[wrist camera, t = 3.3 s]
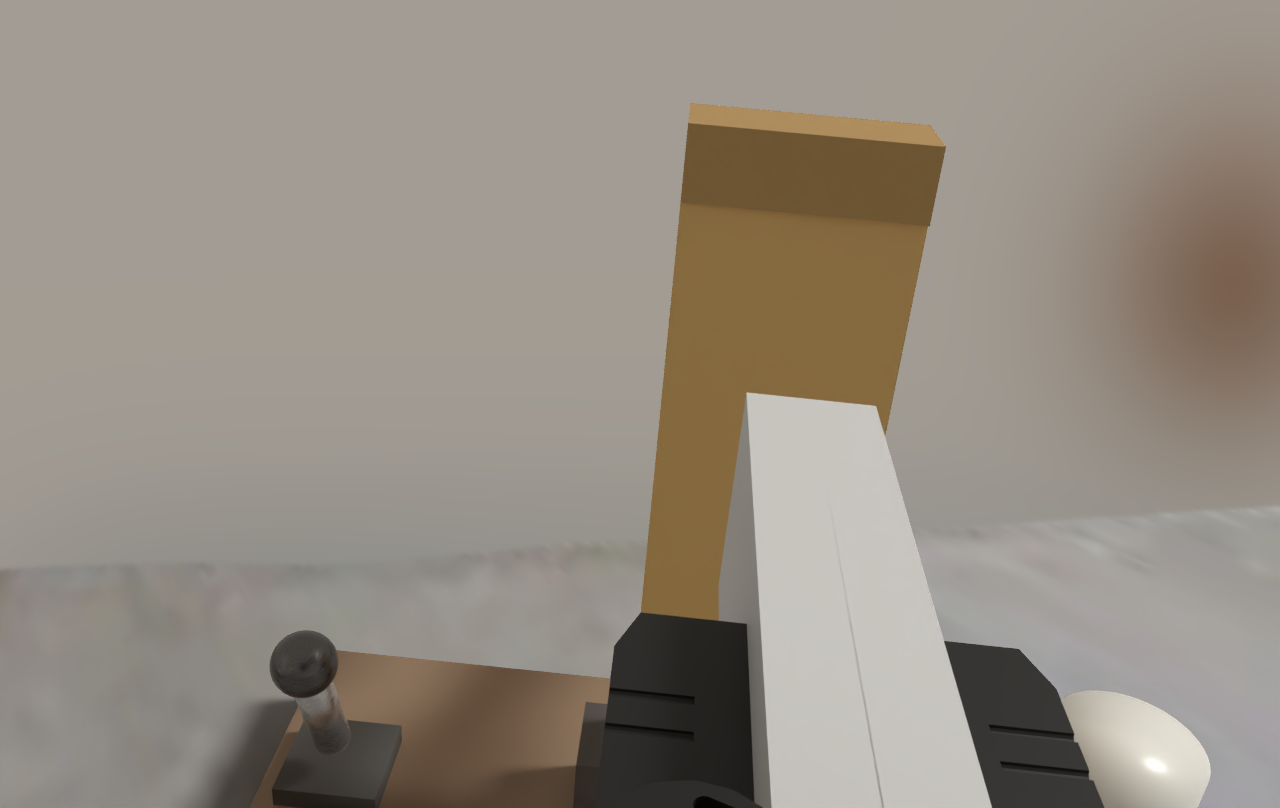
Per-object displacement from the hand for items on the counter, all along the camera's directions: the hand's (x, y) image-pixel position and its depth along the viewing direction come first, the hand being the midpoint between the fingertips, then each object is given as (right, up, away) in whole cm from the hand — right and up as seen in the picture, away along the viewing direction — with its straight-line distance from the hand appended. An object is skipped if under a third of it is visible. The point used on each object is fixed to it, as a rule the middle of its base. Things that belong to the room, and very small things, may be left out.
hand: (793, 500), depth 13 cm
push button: (+11, -10, +17) cm, 22 cm away
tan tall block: (0, -10, +18) cm, 21 cm away
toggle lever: (-10, -9, +18) cm, 22 cm away
